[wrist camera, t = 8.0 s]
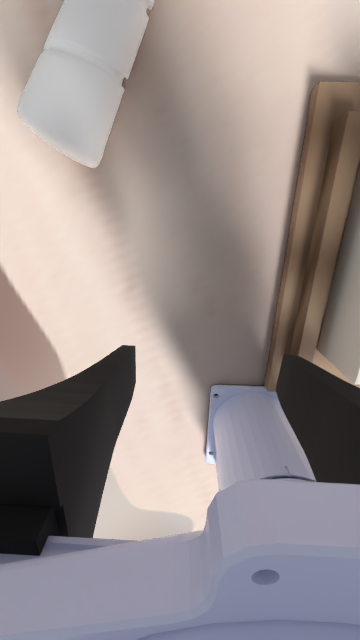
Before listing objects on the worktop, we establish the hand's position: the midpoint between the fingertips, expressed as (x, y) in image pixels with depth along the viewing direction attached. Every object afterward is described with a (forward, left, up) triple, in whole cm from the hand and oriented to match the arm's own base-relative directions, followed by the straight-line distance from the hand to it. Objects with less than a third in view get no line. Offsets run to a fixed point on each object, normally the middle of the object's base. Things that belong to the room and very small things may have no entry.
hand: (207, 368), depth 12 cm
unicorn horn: (+21, +4, -10) cm, 23 cm away
